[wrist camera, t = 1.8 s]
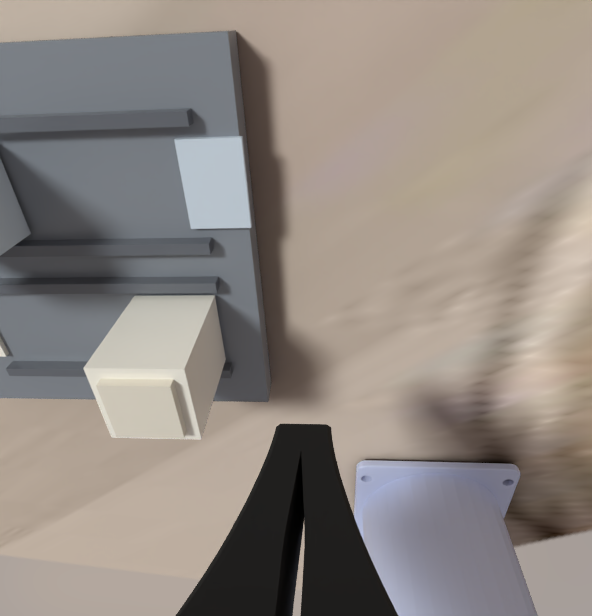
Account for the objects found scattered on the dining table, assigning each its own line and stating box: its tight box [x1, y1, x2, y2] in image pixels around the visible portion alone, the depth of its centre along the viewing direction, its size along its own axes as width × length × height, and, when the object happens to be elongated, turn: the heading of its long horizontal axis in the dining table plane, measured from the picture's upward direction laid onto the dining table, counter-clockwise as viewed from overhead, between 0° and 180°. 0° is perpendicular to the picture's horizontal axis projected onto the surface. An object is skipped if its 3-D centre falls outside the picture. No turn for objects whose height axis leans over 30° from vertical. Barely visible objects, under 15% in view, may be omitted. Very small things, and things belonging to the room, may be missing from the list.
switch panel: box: [0, 31, 271, 402], centre depth 16 cm, size 14×13×2 cm
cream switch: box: [83, 295, 226, 439], centre depth 15 cm, size 3×3×4 cm
